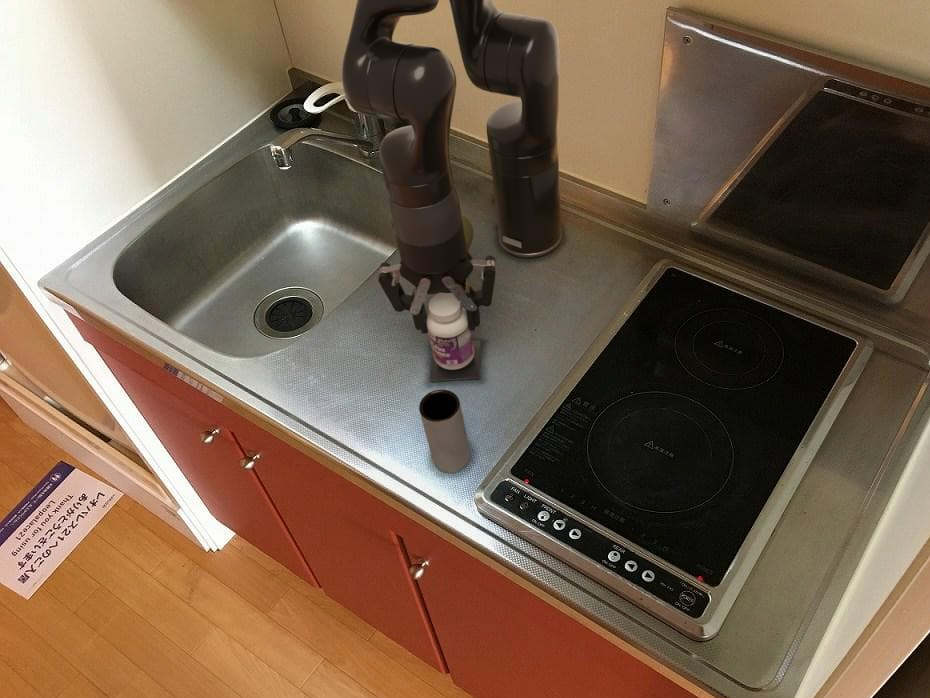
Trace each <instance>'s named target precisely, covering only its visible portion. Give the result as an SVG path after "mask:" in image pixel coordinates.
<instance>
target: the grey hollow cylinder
mask: <svg viewBox="0 0 930 698" xmlns="http://www.w3.org/2000/svg"><path fill="white" fill-rule="evenodd" d="M418 411H419V415H420V419H421V422H422V426H423V429H424V433H425V436H426V441H427V444H428V447H429V452H430V455H431V459H432V461H433V464H434V467H436V469H438V470H439V471H440V472H443V473H445V474H455V473H458V472H461V471H463V470H464V469H465V468H466V467H467V466H468V464H469V463H470V460H471V455H472V454H471V447H470V445H469V439H468V435H467V430H466V426H465V425H466V424H465V419H464V415H463V412H462V411H463V410H462V405H461V402H460V398H459V396H458V395H457V394H456V393H455V392H453V391H451V390H449V389H435V390H432V391H430V392H428V393H427V394H425V395H424V396H423V397H422V398H421V401H419V405H418Z"/></svg>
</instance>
